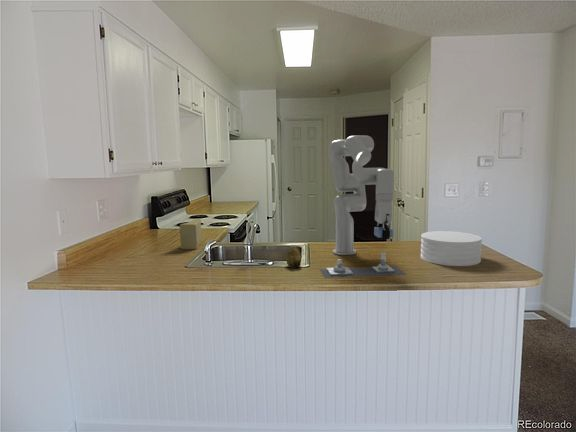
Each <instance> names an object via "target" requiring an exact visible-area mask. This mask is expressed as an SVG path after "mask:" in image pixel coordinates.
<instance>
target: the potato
mask: <svg viewBox="0 0 576 432" xmlns="http://www.w3.org/2000/svg"><path fill="white" fill-rule="evenodd" d="M285 260H286V264H287V266H288V267H289V268H292V269H297V268H299V267H301V263H302V254H301V252H300V250H299V249H298V248H295V247H291V248H289V249H288V250H286V253H285Z"/></svg>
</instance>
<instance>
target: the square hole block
mask: <svg viewBox="0 0 576 432" xmlns="http://www.w3.org/2000/svg"><path fill="white" fill-rule="evenodd" d="M373 228H374V229H373V234H374V236H375V237H376V238H378V239H379V238H380V239H382V230H383V227H377V226H374V227H373ZM393 237H394V229H393V228H391V227H390V238H393Z"/></svg>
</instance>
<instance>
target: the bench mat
mask: <svg viewBox="0 0 576 432" xmlns="http://www.w3.org/2000/svg"><path fill="white" fill-rule="evenodd" d="M372 267H373V266H371V267H352V268H351V267H348V268H349V269H350V270H351V271H352V272H353V275H343V276H330V274H329V273H328V271H327V270H326V269H325V268H324V269H319V271H320V272H321V273H320V274H322V276H323V277H324V279H330V278H331V279H333V278H335V279H337V278H356V277H357V278H358V277H379V276H380V277H382V276H402V275H403V276H404V275H406V276H407V275H408V274H407V273H406V272H404V271H403V270H402V269H400V268H399V267H397V266H390V267H391V268H392V269H393V270H395V273H376V272H375V271H374V270H373V269H372Z"/></svg>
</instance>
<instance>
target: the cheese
mask: <svg viewBox="0 0 576 432" xmlns="http://www.w3.org/2000/svg"><path fill="white" fill-rule="evenodd" d="M201 220H202V219H201V218H195V219H193V220H191V221H188V222H185V223H181V224H179V240H180V248H181V249H182V250H197V249H198V247H199V245H200V244H202V242H203V237H202V236H203V235H202V234H203V233H202V231H203V230H202V223H201Z"/></svg>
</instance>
